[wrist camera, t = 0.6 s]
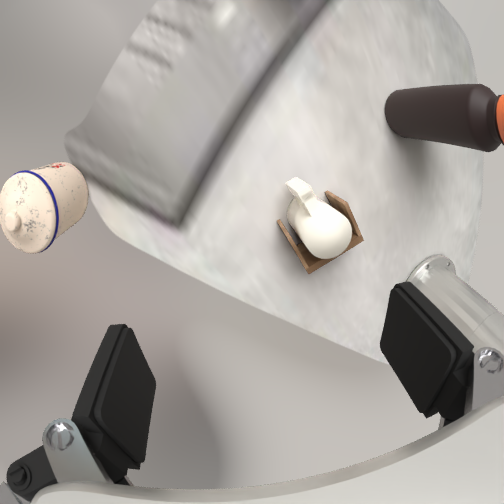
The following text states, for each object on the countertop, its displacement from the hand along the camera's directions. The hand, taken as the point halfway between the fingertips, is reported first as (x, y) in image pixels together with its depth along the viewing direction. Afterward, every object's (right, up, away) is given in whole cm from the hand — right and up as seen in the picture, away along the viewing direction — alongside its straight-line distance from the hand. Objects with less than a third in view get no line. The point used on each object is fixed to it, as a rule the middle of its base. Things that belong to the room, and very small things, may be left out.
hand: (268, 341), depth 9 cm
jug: (+5, +9, +25) cm, 27 cm away
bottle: (+20, +22, +21) cm, 36 cm away
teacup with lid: (-26, +10, +21) cm, 35 cm away
